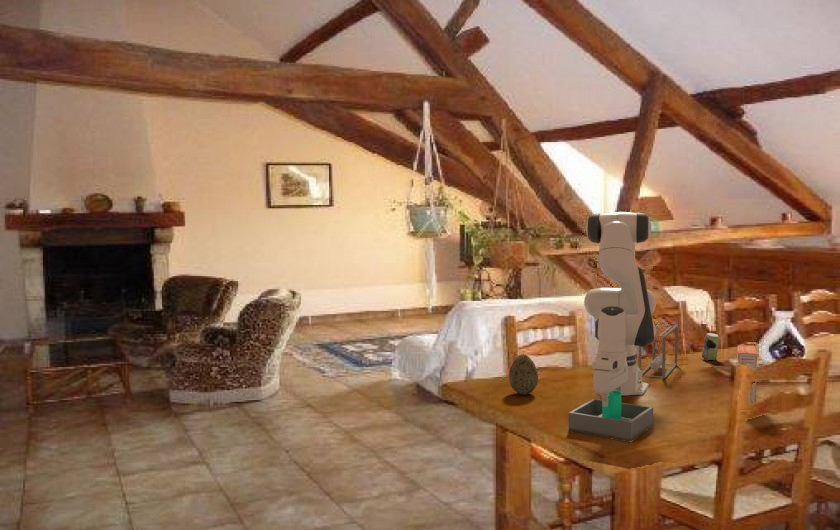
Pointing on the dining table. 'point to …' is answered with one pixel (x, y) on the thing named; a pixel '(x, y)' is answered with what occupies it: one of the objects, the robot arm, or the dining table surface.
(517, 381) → the decorative egg
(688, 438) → the dining table surface
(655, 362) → the newton's cradle
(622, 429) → the walled box
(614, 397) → the candle
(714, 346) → the beverage can
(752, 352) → the cracker box
